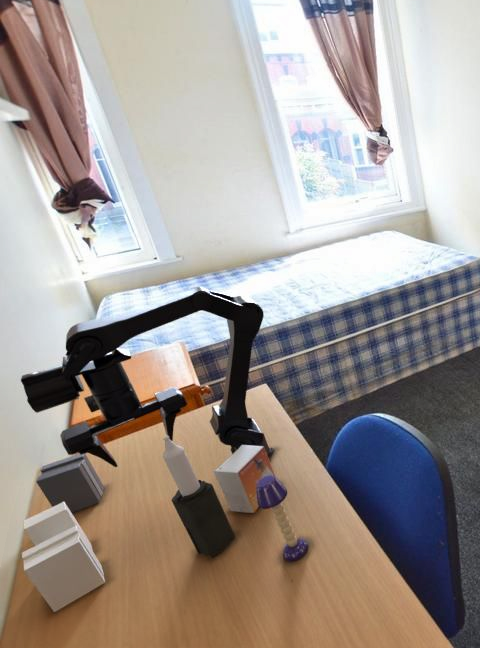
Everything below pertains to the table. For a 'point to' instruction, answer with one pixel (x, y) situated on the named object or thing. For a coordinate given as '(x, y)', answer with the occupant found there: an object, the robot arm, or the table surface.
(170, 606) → the table surface
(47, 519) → the white tall block
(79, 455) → the grey books
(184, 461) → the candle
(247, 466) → the small box
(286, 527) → the toy lamp
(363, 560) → the table surface
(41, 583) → the white books
